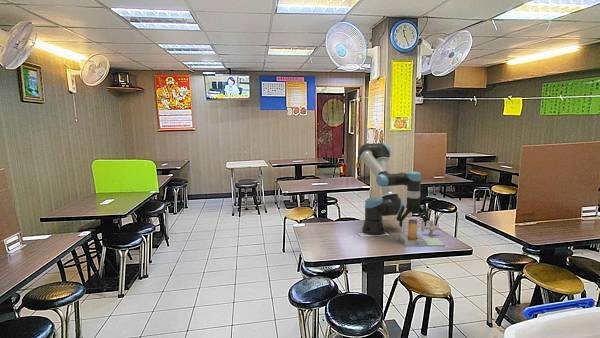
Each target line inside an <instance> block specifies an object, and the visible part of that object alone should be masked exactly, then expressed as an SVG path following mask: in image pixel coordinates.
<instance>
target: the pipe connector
mask: <svg viewBox="0 0 600 338" xmlns="http://www.w3.org/2000/svg"><path fill="white" fill-rule="evenodd" d="M424 230H429V236H431V237H432V236H434V235H433V234H434V232H435V230H441V227H440V226H434V220H433V219H430V220H429V224H428V225H426V227H425V228H424Z"/></svg>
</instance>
